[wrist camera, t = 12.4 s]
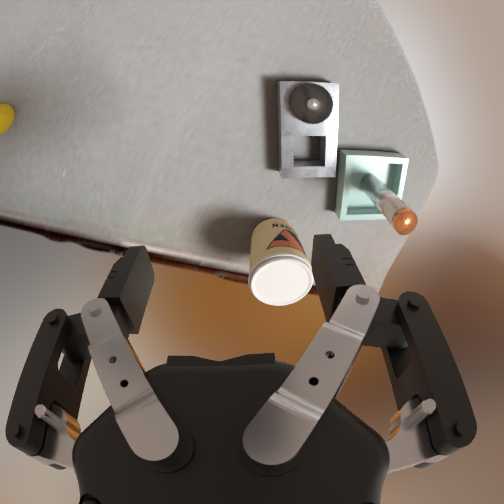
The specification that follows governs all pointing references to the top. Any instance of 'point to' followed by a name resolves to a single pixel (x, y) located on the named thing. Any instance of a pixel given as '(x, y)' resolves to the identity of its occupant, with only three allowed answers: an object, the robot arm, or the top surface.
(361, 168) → the tray
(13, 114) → the lemon
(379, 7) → the top surface
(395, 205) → the pin
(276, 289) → the coffee cup
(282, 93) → the block
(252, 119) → the top surface
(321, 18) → the top surface
